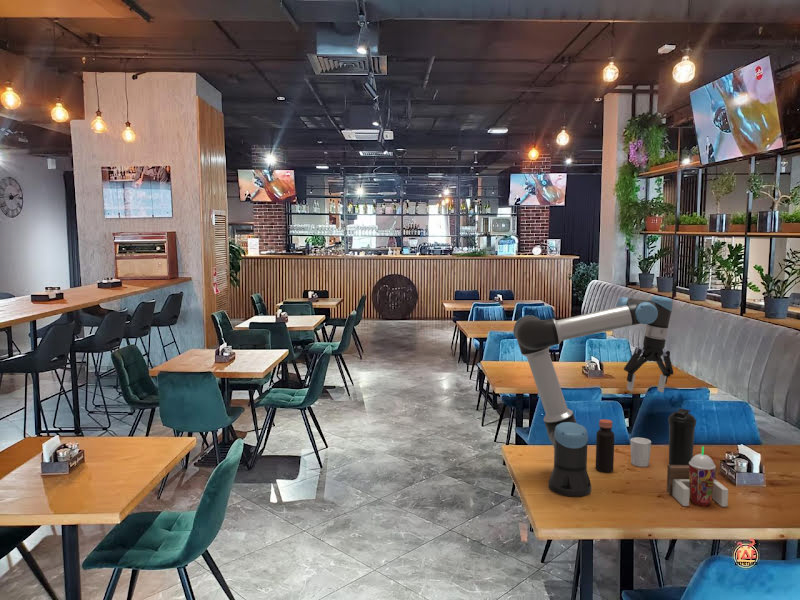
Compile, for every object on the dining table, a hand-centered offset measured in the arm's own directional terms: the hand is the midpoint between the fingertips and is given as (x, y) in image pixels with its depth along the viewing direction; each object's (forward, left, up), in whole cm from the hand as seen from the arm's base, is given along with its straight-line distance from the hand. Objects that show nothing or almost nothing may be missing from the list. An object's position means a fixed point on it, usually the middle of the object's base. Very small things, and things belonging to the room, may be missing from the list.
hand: (645, 390), depth 234 cm
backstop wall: (+5, -19, -34) cm, 39 cm away
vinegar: (-10, +10, -34) cm, 37 cm away
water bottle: (+22, +4, -34) cm, 41 cm away
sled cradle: (+3, -26, -34) cm, 43 cm away
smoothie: (+3, -27, -34) cm, 43 cm away
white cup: (+8, +11, -34) cm, 37 cm away
